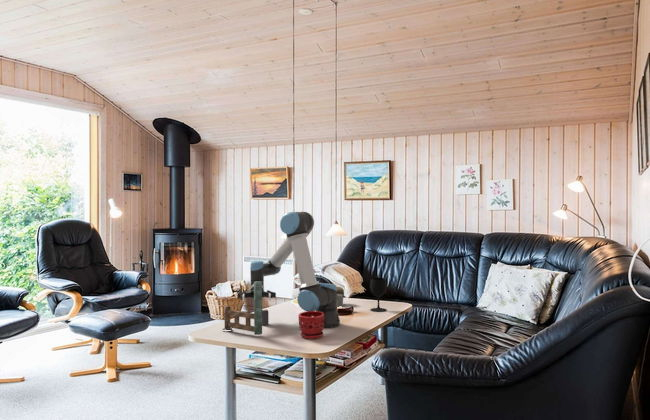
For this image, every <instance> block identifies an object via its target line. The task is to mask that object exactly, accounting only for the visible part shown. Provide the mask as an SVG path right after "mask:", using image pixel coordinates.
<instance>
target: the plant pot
mask: <svg viewBox="0 0 650 420" xmlns="http://www.w3.org/2000/svg"><path fill="white" fill-rule="evenodd" d="M297 317H298V324H299V329H300V336H301V337H302V338H304V339H307V340H314V339H315V340H316V339H317V338H318V339H320V338H322V337H323V335H324V330H323V329H324V328H323V327H324V313H323V312H319V311H303V312H300V313H298V316H297Z"/></svg>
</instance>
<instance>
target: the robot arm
mask: <svg viewBox="0 0 650 420" xmlns="http://www.w3.org/2000/svg"><path fill="white" fill-rule="evenodd" d="M314 226H315V220H314V217H313V216H312V214H311V213H309V212H307V211H291V212H286V213H285V214H283V216H282V217H281V219H280V222H279V227H280V231H281V232H282V233H283V234H286V239H284V241H283V242H282V244H281V245H280V246H279V247H278V249H277V250H276V251H275V253H274V254H273V255H272V256H271V257H270V259H269V261H267V262H264V261H262V260H252V261H251V262H250V268H249V269H250V290H249V291H247V290H244V291H242V292H241V291H240V292H239V293H236V294H237V296H236V298H237V300H238V299H240V301H242V302H245V299H247V298H252V299H254V282H255V281H261V282H262V298H268V300H269V301H271V299H275V298H277V293H276V292H274V291H271V290H269V289H268V290H266V291H265V285H264V282H265V281H264V278H265V277H268V276H274V275H277V274H279V273H280V272H281V270H282V269H281V268H282V265H283V264H284V263H285V261H287V259H288V258H289V256H290V255H291V254H292V253H293V256H294V260H295V261H294V262H295V265H296V268H297V274H298V277H299V283H300V285H299V287H298V291H299V293H298V294H297V298H296V299H297V304H298V307H300V309H301V310H304V312H307V311H319V312H323V313H324V327H323V329H325V328H326V329H329V328H337V327H339V326H341V320H340V316H339V313H338V312H337V287H338V286H337V285H336V284H333V283H327V282H326V283H323V282H319V281H318V280H317V277H316V274H315V273H316V272H315V270H314V269H315V268H314V266H313V265H314V264H313V262H312V256H311V252H310V248H309V245H308V240H307V237H308V236H309V235H310V234H311V232H312V230H313V229H314Z"/></svg>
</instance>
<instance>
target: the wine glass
mask: <svg viewBox="0 0 650 420" xmlns="http://www.w3.org/2000/svg"><path fill="white" fill-rule="evenodd" d="M387 285H388V284H387V279H386V278H385V277H371V279H370V283H369V287H370V292H371V294H372V295H373V296H375V297H376V298H377V307H372V308H370V310H369V311H371V312H374V313H381V312H382V313H384V312H387V309H386V308H382V307H380V298H381V297H382V296H383V295H384V294H386V291H387V290H388V288H387V287H388V286H387Z"/></svg>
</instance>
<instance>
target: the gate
mask: <svg viewBox="0 0 650 420" xmlns="http://www.w3.org/2000/svg"><path fill="white" fill-rule="evenodd" d="M223 308H224V310H223V311H224V315H223V316H224V317H223V318H224V328H225V329H229V328H232V329H235V330H242V331H245V332H246V331H247V332H251V333H253V334H254V335H255V336H257V335H258V336H261V335H262V334H263V326H262V310H263V297H262V282H261V281H255V282H254V298H253V310H254V311H253V312H246V311H241V310H235V309H231V305H224V307H223ZM231 316H233V319H234V322H231ZM240 318H245V323H244V324H243V323H240ZM251 320H253V324H254V325H251V323H252V321H251Z"/></svg>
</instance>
